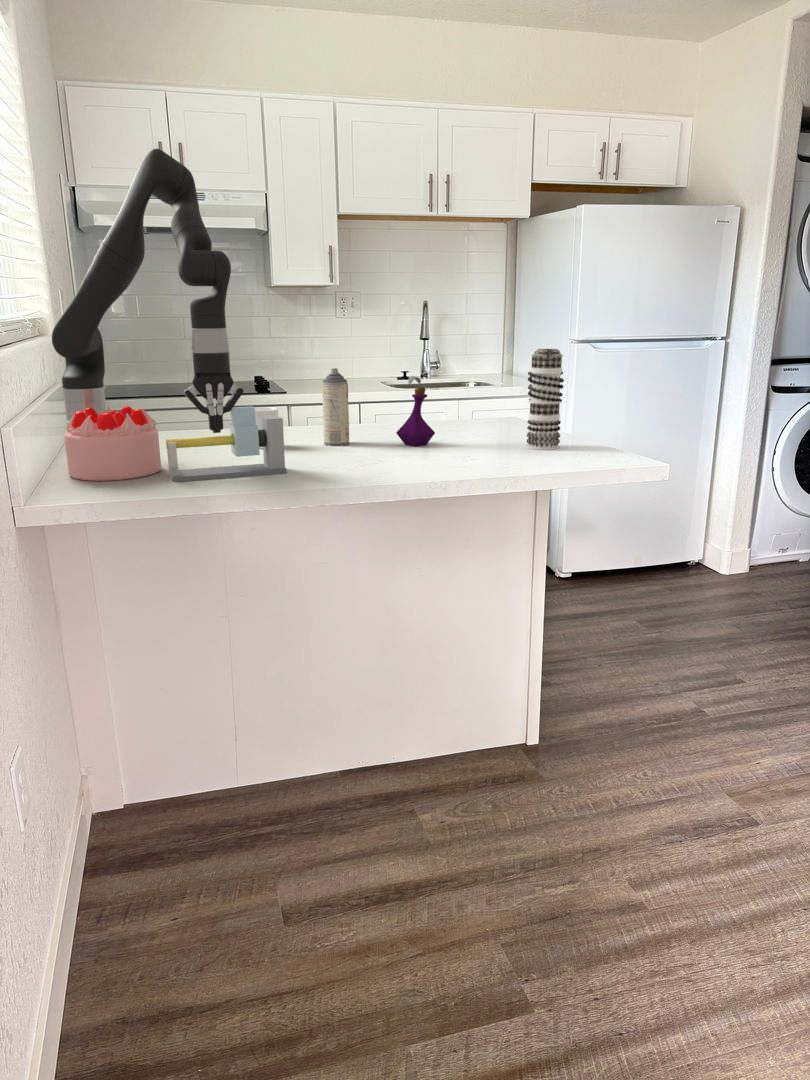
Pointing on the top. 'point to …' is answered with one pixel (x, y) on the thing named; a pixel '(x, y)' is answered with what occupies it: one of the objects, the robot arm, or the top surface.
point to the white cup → (264, 412)
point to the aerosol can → (335, 409)
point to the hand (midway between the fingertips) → (216, 432)
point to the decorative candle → (545, 399)
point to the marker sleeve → (244, 431)
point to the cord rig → (268, 439)
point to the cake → (112, 445)
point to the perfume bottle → (416, 421)
